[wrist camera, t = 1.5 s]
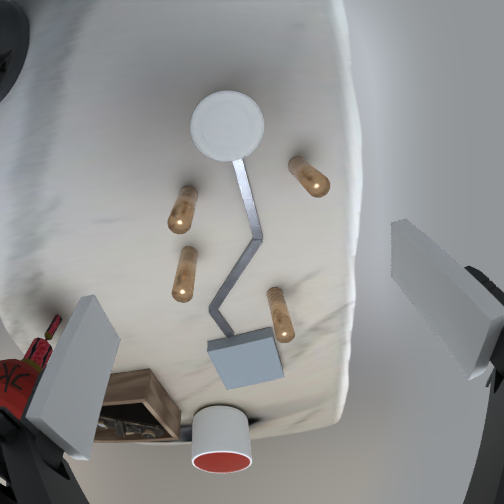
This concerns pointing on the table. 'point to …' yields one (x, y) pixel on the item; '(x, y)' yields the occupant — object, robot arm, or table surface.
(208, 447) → the cup
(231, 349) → the pad
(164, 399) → the camera corral
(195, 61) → the table surface
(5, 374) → the lantern
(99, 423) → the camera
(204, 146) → the sprinkles bottle
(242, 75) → the table surface
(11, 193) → the table surface
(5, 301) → the table surface
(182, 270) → the wire course
